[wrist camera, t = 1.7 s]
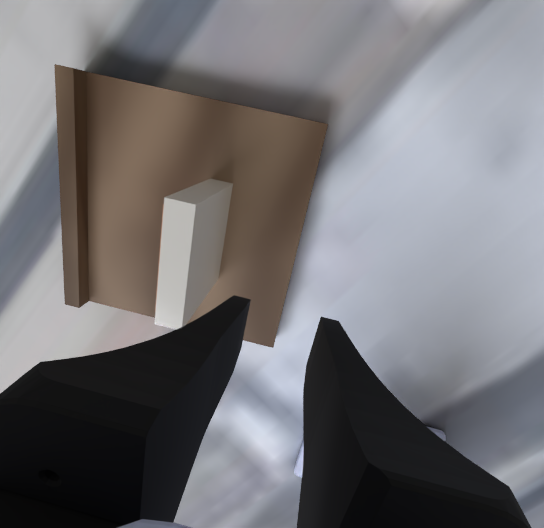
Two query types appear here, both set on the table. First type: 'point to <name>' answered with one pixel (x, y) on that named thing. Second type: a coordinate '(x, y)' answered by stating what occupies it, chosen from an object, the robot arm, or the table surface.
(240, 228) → the board
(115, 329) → the table surface
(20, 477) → the robot arm
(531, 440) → the table surface
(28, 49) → the table surface
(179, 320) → the tile
